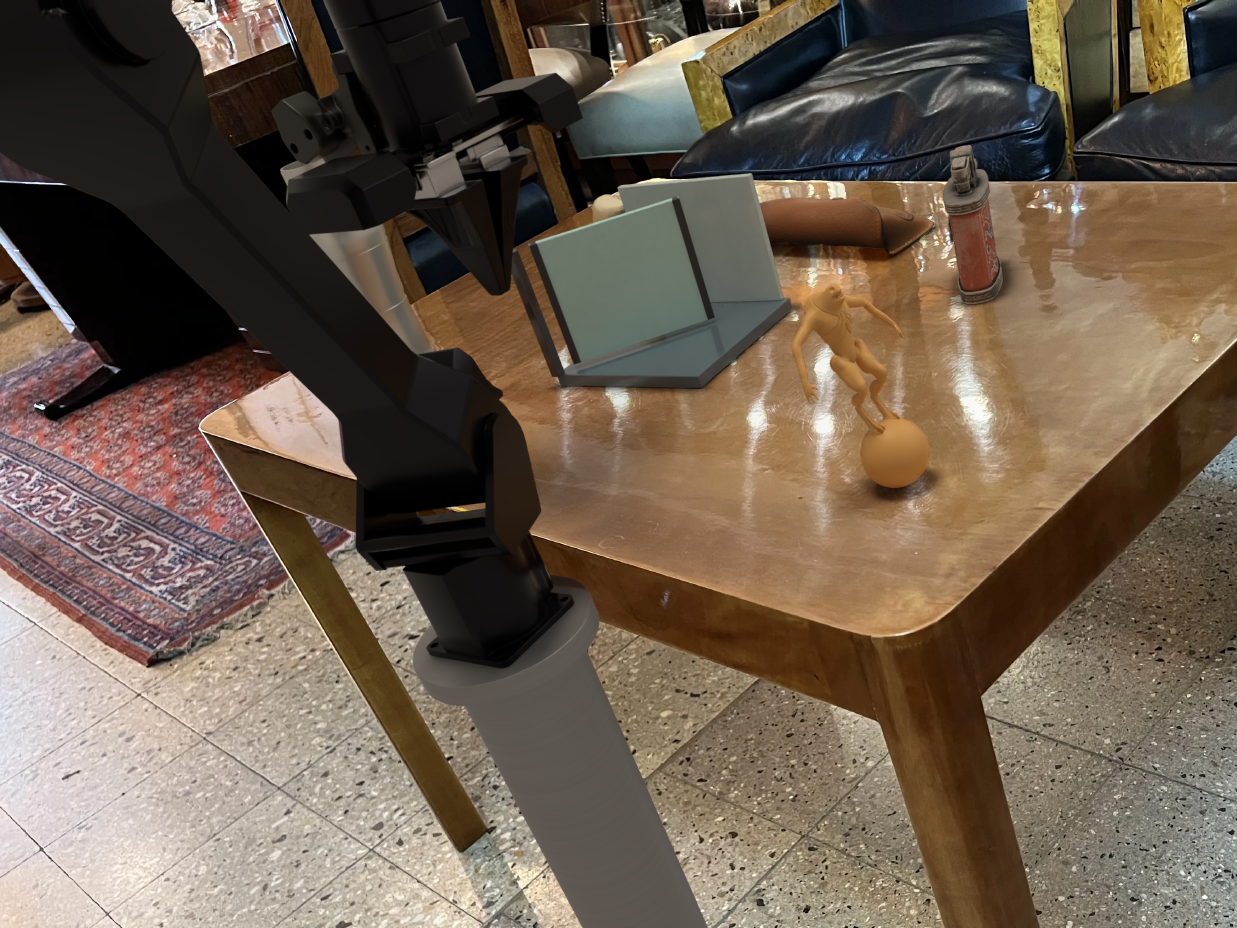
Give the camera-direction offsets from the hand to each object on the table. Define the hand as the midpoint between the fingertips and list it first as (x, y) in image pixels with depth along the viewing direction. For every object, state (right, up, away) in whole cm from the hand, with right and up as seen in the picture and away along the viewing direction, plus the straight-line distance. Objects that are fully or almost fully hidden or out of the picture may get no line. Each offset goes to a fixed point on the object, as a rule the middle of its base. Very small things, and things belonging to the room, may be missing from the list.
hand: (500, 293), depth 72 cm
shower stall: (+8, +2, +23) cm, 24 cm away
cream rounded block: (+2, +11, +39) cm, 40 cm away
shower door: (+5, +3, +22) cm, 23 cm away
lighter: (+32, +6, +19) cm, 38 cm away
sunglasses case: (+20, +15, +36) cm, 44 cm away
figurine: (+24, -12, -3) cm, 27 cm away
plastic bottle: (-13, -3, +24) cm, 28 cm away
